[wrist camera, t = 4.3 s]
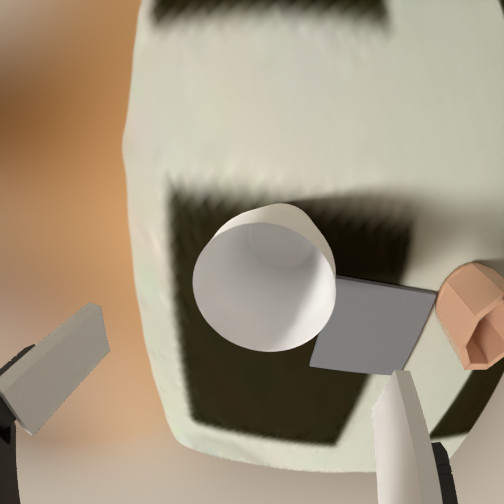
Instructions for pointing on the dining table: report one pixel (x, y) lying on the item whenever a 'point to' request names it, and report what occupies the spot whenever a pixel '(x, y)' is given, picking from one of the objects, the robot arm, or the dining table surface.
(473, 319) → the pot
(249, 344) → the cup
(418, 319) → the mat
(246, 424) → the dining table surface
